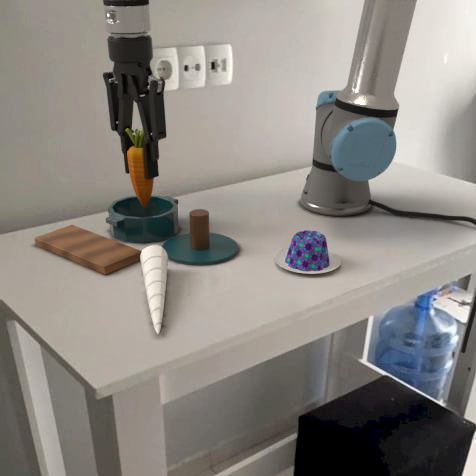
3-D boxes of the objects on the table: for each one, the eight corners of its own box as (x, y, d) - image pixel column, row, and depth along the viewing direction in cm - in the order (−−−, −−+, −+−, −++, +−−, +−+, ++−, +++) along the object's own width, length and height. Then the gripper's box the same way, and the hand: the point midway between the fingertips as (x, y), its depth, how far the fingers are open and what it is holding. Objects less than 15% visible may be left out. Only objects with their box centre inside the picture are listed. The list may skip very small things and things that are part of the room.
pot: (197, 226, 129) (196, 202, 126) (137, 251, 118) (135, 226, 116) (151, 211, 136) (149, 188, 133) (91, 233, 125) (87, 209, 122)
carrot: (127, 208, 123) (118, 127, 114) (141, 200, 127) (134, 121, 118) (148, 212, 121) (141, 130, 113) (162, 204, 125) (156, 124, 116)
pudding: (295, 282, 108) (297, 253, 105) (262, 256, 117) (263, 229, 114) (353, 270, 113) (357, 242, 109) (318, 246, 121) (320, 219, 118)
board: (143, 258, 116) (142, 251, 115) (105, 274, 110) (104, 266, 109) (73, 231, 126) (72, 224, 125) (35, 245, 120) (34, 237, 119)
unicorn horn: (132, 337, 93) (129, 308, 90) (142, 269, 112) (139, 243, 109) (164, 336, 93) (162, 307, 90) (168, 268, 112) (167, 243, 110)
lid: (252, 247, 120) (253, 211, 116) (203, 272, 111) (202, 233, 107) (197, 229, 127) (196, 194, 123) (146, 250, 119) (143, 213, 114)
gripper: (77, 32, 109) (95, 170, 123) (150, 41, 100) (161, 189, 114) (110, 28, 114) (124, 161, 127) (183, 36, 104) (189, 179, 118)
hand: (142, 174), depth 120 cm, fingers closed on carrot, 5 cm apart
